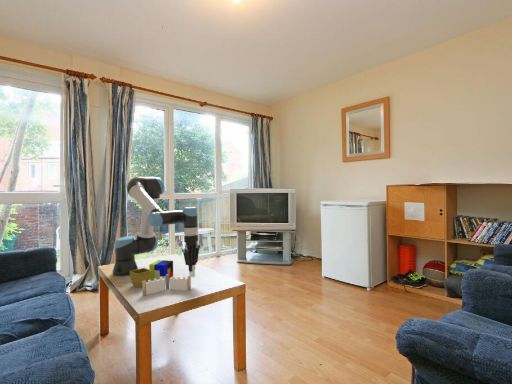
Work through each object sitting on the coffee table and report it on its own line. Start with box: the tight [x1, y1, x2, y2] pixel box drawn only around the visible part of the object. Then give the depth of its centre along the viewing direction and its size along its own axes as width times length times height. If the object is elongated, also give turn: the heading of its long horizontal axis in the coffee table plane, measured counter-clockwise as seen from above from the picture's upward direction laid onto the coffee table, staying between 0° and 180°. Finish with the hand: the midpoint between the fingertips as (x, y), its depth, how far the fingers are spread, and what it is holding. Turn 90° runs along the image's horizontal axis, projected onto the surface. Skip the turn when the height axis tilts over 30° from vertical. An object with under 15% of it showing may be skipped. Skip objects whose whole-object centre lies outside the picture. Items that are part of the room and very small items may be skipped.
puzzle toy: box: [148, 259, 174, 281], centre depth 166 cm, size 10×10×10 cm
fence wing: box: [169, 275, 192, 291], centre depth 146 cm, size 12×2×7 cm, turn 81°
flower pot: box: [129, 267, 151, 288], centre depth 153 cm, size 9×9×9 cm
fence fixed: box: [141, 274, 170, 297], centre depth 143 cm, size 14×2×8 cm, turn 131°
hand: (192, 276), depth 152 cm, fingers closed
